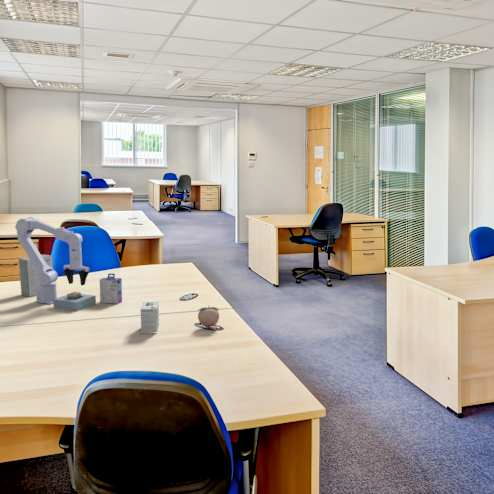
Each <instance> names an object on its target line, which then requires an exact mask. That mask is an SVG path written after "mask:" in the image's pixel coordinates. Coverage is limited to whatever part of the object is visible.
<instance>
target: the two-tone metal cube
mask: <svg viewBox="0 0 494 494" xmlns="http://www.w3.org/2000/svg"><path fill="white" fill-rule="evenodd" d="M81 294H82V293H81V292H78V291H72V292H70V293H67V294H66V295H67V299H72V300H76V299H79V298H81Z"/></svg>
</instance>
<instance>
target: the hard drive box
mask: <svg viewBox="0 0 494 494" xmlns="http://www.w3.org/2000/svg"><path fill="white" fill-rule="evenodd" d="M41 256H42V257H43V259H44V261H45V262H46V264H47V265H49V266H50V267H51V268H52V269H53V270H54V268H53V265H54V264H53V256H52V255H49V254H41ZM18 269H19V280H20V282H19V283H20V293H21V296H24V297H29V298H30V297H35V295H36V288H37V286H38V285H39V284H40V283H39V281H38V276H37V275H36V273H37V269H36V268H35V266H34V264H33V263H32V261H31V260H30V258H29V256H28V257H22V258H18Z"/></svg>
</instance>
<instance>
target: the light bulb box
mask: <svg viewBox="0 0 494 494" xmlns="http://www.w3.org/2000/svg"><path fill="white" fill-rule="evenodd" d="M159 306H160V305H159V301H158V302H157V301H154V302H150V301H148V302H143V303H142V306H141V308H140V328H141V329H140V334H141V333H150V332H151V334H153V333H152V332H157V333H158V329H159V327H158V326H160V318H159V317H160V314H159V313H160V312H159V311H160V310H159V309H160V308H159Z"/></svg>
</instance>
